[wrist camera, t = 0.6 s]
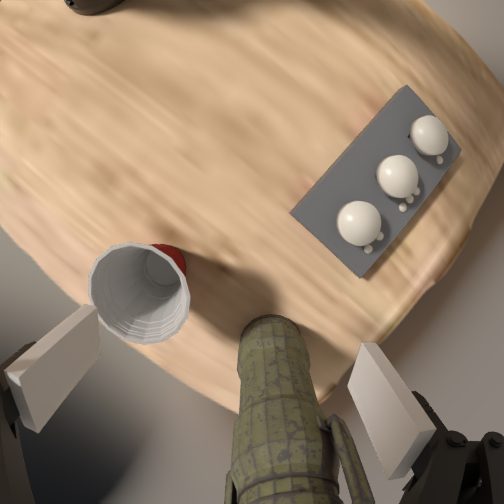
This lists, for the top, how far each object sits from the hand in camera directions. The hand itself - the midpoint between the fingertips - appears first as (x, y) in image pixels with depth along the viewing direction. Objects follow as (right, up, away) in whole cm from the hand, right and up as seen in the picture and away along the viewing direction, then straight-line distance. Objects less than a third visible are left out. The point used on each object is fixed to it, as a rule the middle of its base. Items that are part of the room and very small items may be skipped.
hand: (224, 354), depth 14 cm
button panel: (+18, +15, +23) cm, 33 cm away
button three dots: (+18, +14, +21) cm, 31 cm away
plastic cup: (-10, +3, +26) cm, 28 cm away
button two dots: (+13, +9, +22) cm, 28 cm away
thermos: (+4, -8, +28) cm, 29 cm away
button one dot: (+23, +20, +20) cm, 36 cm away
